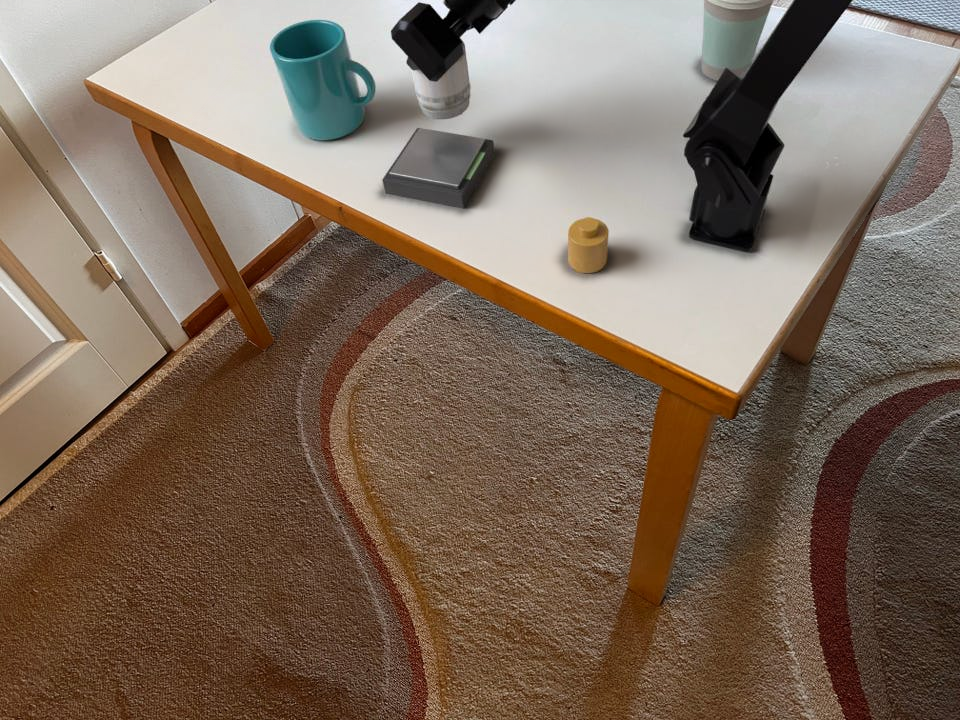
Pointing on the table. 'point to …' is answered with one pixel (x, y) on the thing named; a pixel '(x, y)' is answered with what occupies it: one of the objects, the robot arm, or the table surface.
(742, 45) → the coffee cup
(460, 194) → the scale
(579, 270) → the brass weight
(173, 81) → the table surface
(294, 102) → the cup
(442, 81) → the camera lens
